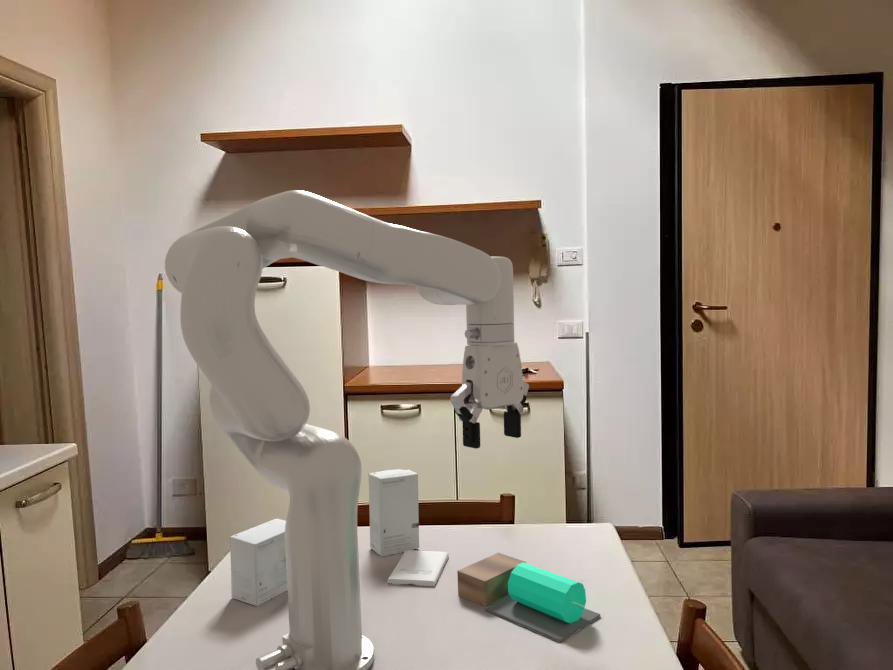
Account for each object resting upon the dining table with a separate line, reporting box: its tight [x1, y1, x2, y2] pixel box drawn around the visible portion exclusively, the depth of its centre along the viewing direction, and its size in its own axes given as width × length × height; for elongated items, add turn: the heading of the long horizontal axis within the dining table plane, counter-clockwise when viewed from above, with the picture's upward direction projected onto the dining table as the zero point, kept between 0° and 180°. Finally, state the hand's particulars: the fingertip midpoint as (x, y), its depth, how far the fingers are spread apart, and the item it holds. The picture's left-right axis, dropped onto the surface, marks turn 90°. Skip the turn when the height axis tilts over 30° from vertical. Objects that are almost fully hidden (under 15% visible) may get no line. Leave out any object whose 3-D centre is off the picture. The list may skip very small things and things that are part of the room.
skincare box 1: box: [229, 518, 288, 607], centre depth 115 cm, size 10×6×10 cm, turn 148°
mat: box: [485, 595, 601, 643], centre depth 104 cm, size 10×14×1 cm
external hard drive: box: [387, 549, 449, 587], centre depth 121 cm, size 2×8×12 cm
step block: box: [456, 552, 526, 607], centre depth 112 cm, size 10×6×4 cm, turn 134°
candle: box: [508, 562, 587, 623], centre depth 103 cm, size 6×6×12 cm
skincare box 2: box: [367, 468, 420, 558], centre depth 131 cm, size 8×6×15 cm
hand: (492, 441), depth 110 cm, fingers open, 9 cm apart
